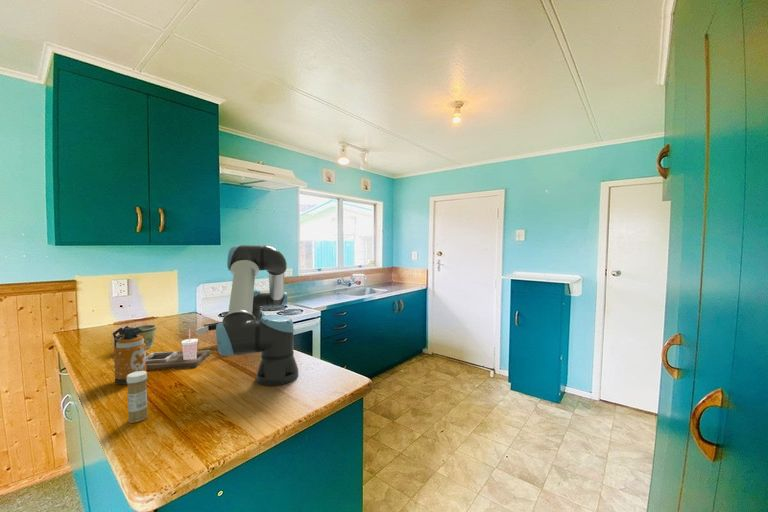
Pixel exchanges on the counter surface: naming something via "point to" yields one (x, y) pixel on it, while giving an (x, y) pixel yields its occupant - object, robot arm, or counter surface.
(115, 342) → the canister
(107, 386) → the counter surface
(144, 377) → the sprinkles bottle
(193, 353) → the beverage cup
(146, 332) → the ceramic cup
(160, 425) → the counter surface
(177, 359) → the divided serving tray
